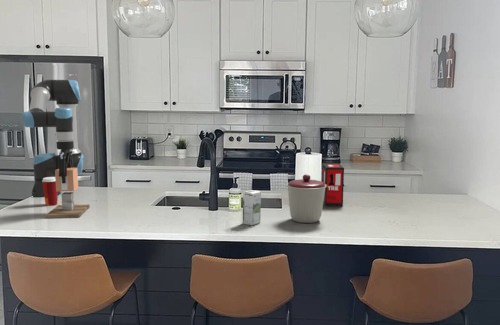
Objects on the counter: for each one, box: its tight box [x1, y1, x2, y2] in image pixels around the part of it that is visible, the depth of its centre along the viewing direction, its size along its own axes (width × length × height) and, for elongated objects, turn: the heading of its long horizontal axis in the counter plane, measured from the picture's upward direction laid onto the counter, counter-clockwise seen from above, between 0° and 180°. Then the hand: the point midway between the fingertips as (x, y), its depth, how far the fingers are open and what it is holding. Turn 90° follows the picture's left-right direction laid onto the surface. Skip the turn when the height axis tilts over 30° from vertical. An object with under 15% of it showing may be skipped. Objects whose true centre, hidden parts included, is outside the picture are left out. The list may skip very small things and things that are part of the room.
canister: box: [285, 174, 327, 224], centre depth 206 cm, size 18×18×21 cm
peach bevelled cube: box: [55, 168, 79, 192], centre depth 218 cm, size 8×8×10 cm
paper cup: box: [42, 177, 59, 207], centre depth 236 cm, size 8×8×14 cm
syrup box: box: [242, 189, 262, 227], centre depth 201 cm, size 6×6×14 cm
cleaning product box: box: [321, 162, 345, 207], centre depth 242 cm, size 16×9×20 cm, turn 179°
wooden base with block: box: [44, 191, 90, 219], centre depth 220 cm, size 20×15×10 cm
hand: (67, 188), depth 219 cm, fingers closed on peach bevelled cube, 8 cm apart
